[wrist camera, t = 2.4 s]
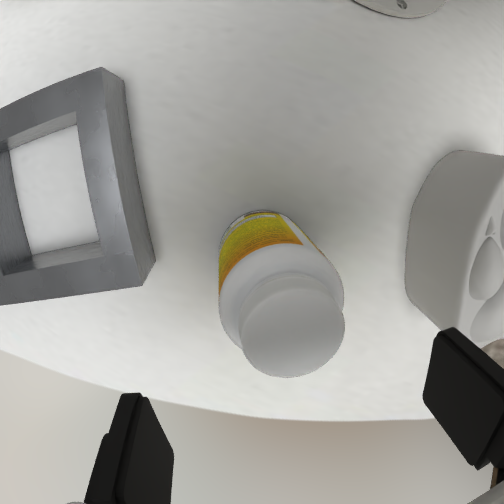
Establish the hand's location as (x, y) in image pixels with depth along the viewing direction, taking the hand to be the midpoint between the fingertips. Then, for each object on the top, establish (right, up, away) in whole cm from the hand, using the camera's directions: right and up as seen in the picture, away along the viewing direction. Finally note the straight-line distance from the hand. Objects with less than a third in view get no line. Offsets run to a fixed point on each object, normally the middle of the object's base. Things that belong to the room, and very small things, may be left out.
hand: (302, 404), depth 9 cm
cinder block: (-21, +8, +9) cm, 24 cm away
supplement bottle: (-1, +5, +12) cm, 13 cm away
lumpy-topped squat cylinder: (+15, +6, +13) cm, 21 cm away
